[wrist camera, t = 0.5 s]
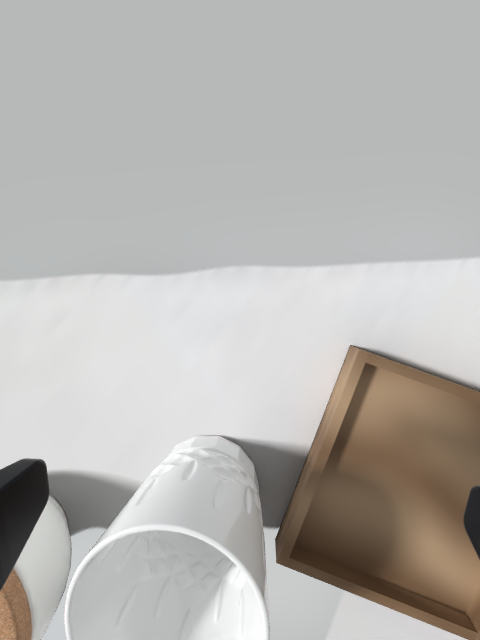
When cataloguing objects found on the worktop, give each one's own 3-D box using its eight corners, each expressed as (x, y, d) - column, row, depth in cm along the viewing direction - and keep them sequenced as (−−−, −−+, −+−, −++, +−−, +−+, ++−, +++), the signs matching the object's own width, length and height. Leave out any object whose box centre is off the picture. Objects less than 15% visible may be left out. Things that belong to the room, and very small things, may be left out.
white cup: (235, 406, 22) (212, 492, 12) (286, 512, 22) (305, 685, 12) (133, 453, 23) (28, 571, 13) (182, 555, 23) (119, 753, 13)
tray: (463, 613, 21) (483, 645, 19) (275, 539, 22) (276, 562, 20) (550, 417, 20) (581, 429, 18) (350, 345, 21) (359, 349, 19)
